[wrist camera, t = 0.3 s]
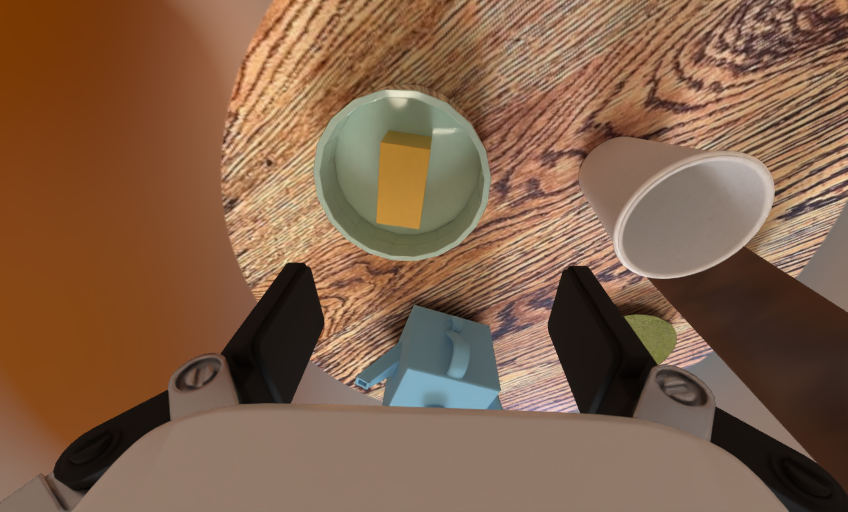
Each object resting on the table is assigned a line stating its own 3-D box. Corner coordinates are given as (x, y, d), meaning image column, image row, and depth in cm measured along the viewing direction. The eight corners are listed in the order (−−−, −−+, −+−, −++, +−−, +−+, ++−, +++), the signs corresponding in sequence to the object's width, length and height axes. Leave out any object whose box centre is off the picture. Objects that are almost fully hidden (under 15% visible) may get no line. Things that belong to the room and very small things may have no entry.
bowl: (385, 41, 22) (374, 38, 19) (516, 157, 26) (528, 174, 23) (305, 181, 28) (285, 201, 25) (421, 258, 32) (418, 285, 29)
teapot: (387, 272, 34) (366, 357, 24) (535, 315, 36) (569, 407, 27) (358, 359, 42) (334, 448, 33) (480, 389, 45) (490, 480, 35)
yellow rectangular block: (388, 130, 25) (380, 141, 22) (432, 136, 25) (430, 149, 22) (383, 203, 29) (376, 223, 25) (422, 209, 29) (419, 229, 25)
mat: (547, 341, 38) (552, 353, 37) (630, 286, 33) (640, 298, 32) (603, 378, 42) (609, 391, 40) (686, 334, 37) (697, 347, 35)
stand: (711, 225, 29) (1947, 1012, 5) (746, 264, 31) (1740, 950, 7) (641, 271, 32) (1207, 889, 8) (678, 304, 34) (1212, 870, 10)
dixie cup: (659, 96, 23) (780, 120, 15) (673, 189, 27) (776, 248, 19) (549, 151, 26) (601, 197, 18) (576, 229, 30) (629, 297, 21)
